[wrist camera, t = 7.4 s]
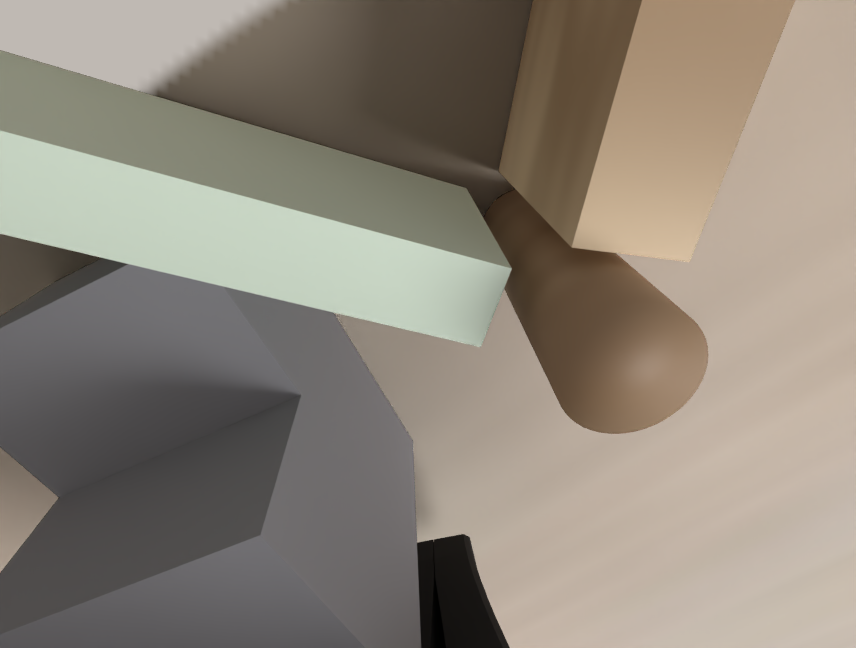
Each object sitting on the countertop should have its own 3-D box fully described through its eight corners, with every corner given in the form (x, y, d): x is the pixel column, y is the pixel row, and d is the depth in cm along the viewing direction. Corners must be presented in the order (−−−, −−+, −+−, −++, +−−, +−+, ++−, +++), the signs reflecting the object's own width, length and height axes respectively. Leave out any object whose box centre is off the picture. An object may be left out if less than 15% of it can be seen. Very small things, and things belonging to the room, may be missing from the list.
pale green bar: (466, 188, 8) (512, 268, 5) (434, 284, 9) (456, 408, 5) (-348, -53, 6) (-1151, -181, 3) (-299, 96, 7) (-898, 122, 4)
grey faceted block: (252, 182, 8) (69, 329, 4) (413, 440, 11) (423, 711, 6) (53, 282, 9) (-318, 516, 4) (253, 503, 11) (157, 791, 7)
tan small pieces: (556, -155, 6) (837, -542, 2) (659, -132, 6) (1096, -456, 2) (394, 674, 15) (392, 902, 11) (441, 674, 15) (457, 900, 11)
